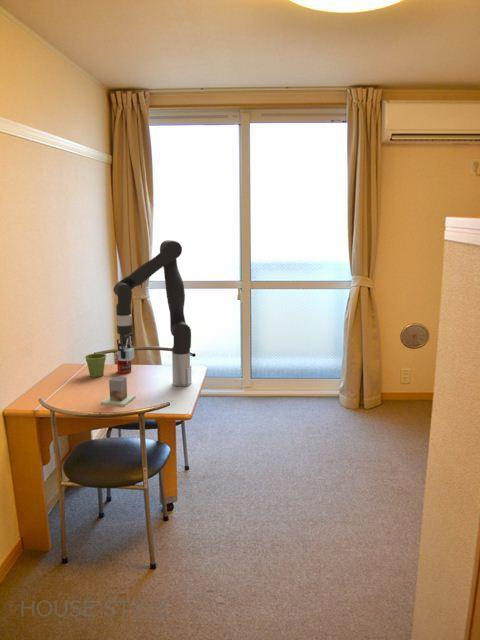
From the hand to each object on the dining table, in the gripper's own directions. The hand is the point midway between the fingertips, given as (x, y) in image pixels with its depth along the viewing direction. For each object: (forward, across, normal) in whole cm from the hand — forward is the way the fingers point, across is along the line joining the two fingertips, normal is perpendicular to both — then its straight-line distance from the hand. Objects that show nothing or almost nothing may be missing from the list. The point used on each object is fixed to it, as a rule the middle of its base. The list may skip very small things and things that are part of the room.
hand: (126, 356), depth 254 cm
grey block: (+12, -12, -1) cm, 17 cm away
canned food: (+19, +31, +16) cm, 40 cm away
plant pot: (+19, +21, +28) cm, 40 cm away
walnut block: (+17, -12, -1) cm, 21 cm away
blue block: (+1, 0, 0) cm, 1 cm away
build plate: (+18, -12, -1) cm, 22 cm away
